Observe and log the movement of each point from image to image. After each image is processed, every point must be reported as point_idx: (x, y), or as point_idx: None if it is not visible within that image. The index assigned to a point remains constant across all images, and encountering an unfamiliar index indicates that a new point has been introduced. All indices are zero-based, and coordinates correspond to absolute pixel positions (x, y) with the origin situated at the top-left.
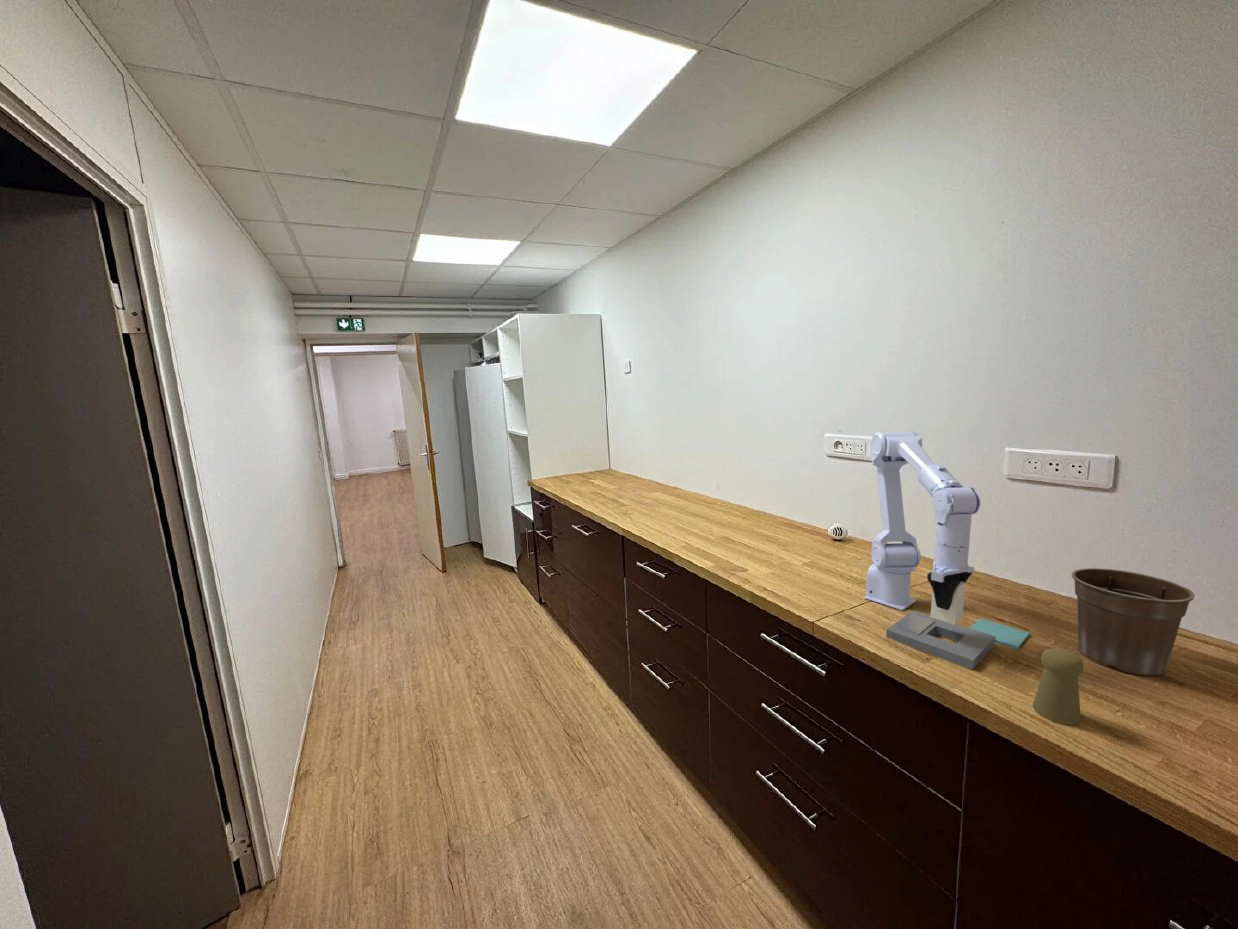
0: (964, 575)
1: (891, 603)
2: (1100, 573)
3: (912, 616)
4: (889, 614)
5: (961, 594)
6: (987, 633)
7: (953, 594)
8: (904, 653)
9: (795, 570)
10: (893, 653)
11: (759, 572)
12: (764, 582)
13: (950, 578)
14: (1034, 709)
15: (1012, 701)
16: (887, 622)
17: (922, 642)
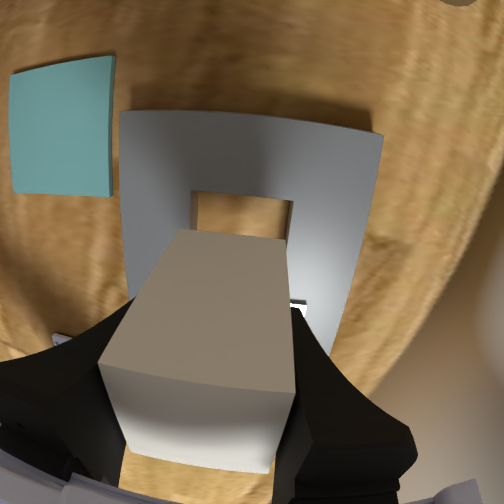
0: (70, 413)
1: None
2: None
3: None
4: None
5: (195, 320)
6: (82, 146)
7: (298, 365)
8: (384, 295)
9: (138, 478)
10: (398, 313)
11: (197, 501)
12: (228, 496)
13: (317, 493)
14: (465, 5)
15: (464, 43)
16: None
17: (350, 283)
